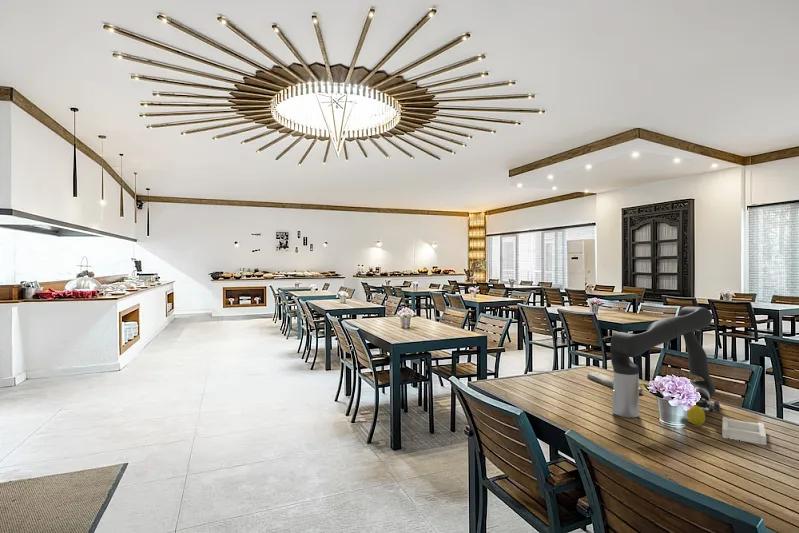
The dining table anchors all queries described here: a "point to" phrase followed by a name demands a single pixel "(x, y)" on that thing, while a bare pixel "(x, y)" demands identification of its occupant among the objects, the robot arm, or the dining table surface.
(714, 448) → the dining table surface
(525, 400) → the dining table surface
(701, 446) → the dining table surface
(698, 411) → the lemon
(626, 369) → the robot arm
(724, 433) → the tray
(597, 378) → the elongated rock
